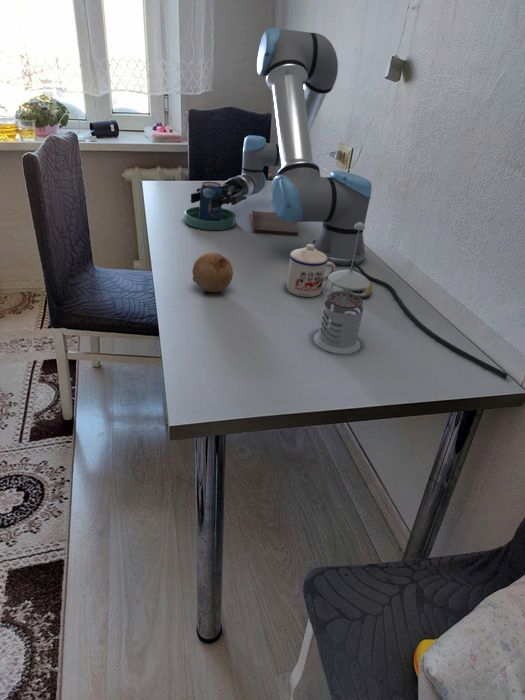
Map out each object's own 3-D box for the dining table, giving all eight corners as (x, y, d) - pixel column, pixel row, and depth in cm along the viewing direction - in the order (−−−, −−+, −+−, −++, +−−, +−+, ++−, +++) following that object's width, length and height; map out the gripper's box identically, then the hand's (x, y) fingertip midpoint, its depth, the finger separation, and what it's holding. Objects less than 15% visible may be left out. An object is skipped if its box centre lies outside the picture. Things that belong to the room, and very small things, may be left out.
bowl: (235, 232, 156) (235, 223, 155) (182, 228, 155) (183, 219, 153) (234, 217, 170) (235, 208, 168) (186, 213, 168) (186, 204, 167)
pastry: (348, 280, 131) (351, 267, 129) (373, 286, 129) (376, 272, 127) (342, 294, 123) (345, 280, 121) (369, 300, 122) (372, 286, 120)
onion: (224, 305, 119) (239, 277, 112) (185, 295, 116) (198, 265, 109) (225, 277, 125) (239, 248, 118) (188, 266, 122) (201, 236, 115)
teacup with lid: (292, 298, 119) (298, 252, 113) (280, 283, 126) (286, 238, 120) (338, 297, 122) (347, 251, 116) (324, 281, 129) (332, 238, 123)
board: (297, 236, 159) (298, 232, 158) (253, 232, 158) (254, 229, 157) (290, 217, 176) (291, 213, 175) (251, 214, 175) (251, 210, 174)
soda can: (211, 226, 158) (213, 188, 152) (194, 221, 161) (195, 183, 155) (224, 222, 163) (227, 184, 157) (208, 217, 166) (209, 180, 160)
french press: (328, 357, 98) (352, 232, 85) (301, 328, 106) (318, 212, 93) (370, 350, 101) (398, 230, 88) (340, 323, 110) (362, 210, 97)
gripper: (263, 204, 171) (229, 219, 153) (213, 193, 178) (175, 206, 160) (265, 182, 167) (231, 195, 149) (214, 171, 174) (175, 182, 156)
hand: (202, 201), depth 154 cm, fingers closed on soda can, 7 cm apart
